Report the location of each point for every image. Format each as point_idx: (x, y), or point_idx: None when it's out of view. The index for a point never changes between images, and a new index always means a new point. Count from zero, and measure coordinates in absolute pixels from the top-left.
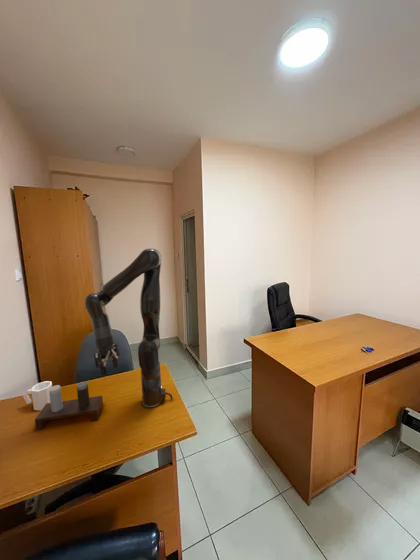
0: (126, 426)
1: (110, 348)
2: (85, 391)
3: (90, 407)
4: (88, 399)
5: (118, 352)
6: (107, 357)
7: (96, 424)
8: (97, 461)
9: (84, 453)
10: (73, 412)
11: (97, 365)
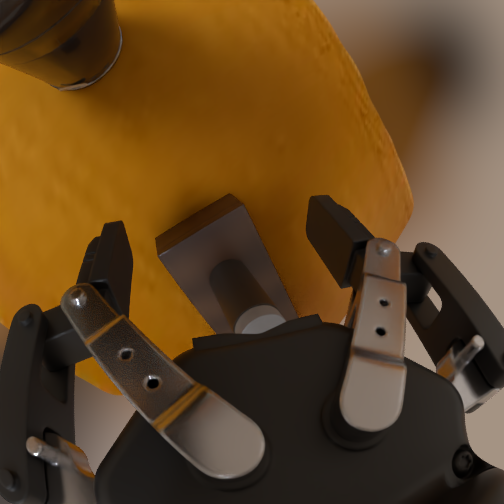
0: (234, 67)
1: (231, 495)
2: (260, 295)
3: (237, 240)
4: (230, 271)
5: (18, 349)
6: (377, 310)
7: (248, 180)
8: (352, 89)
9: (341, 137)
10: (272, 275)
11: (429, 288)
